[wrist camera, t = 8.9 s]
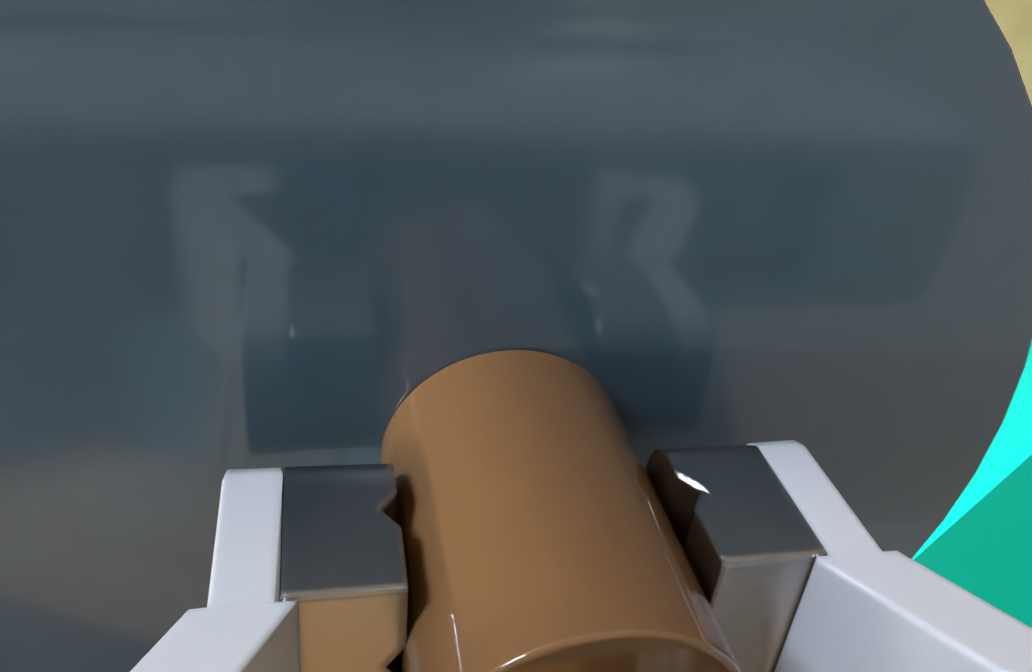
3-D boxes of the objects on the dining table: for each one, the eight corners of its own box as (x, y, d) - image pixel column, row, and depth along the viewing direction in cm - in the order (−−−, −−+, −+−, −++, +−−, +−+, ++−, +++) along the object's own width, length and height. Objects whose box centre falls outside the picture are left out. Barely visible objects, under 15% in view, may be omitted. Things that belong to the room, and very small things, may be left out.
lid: (9, 768, 13) (-128, 1229, 9) (-367, -347, 6) (-1629, -548, 2) (821, 675, 15) (1001, 996, 11) (1170, -170, 9) (1885, -113, 5)
